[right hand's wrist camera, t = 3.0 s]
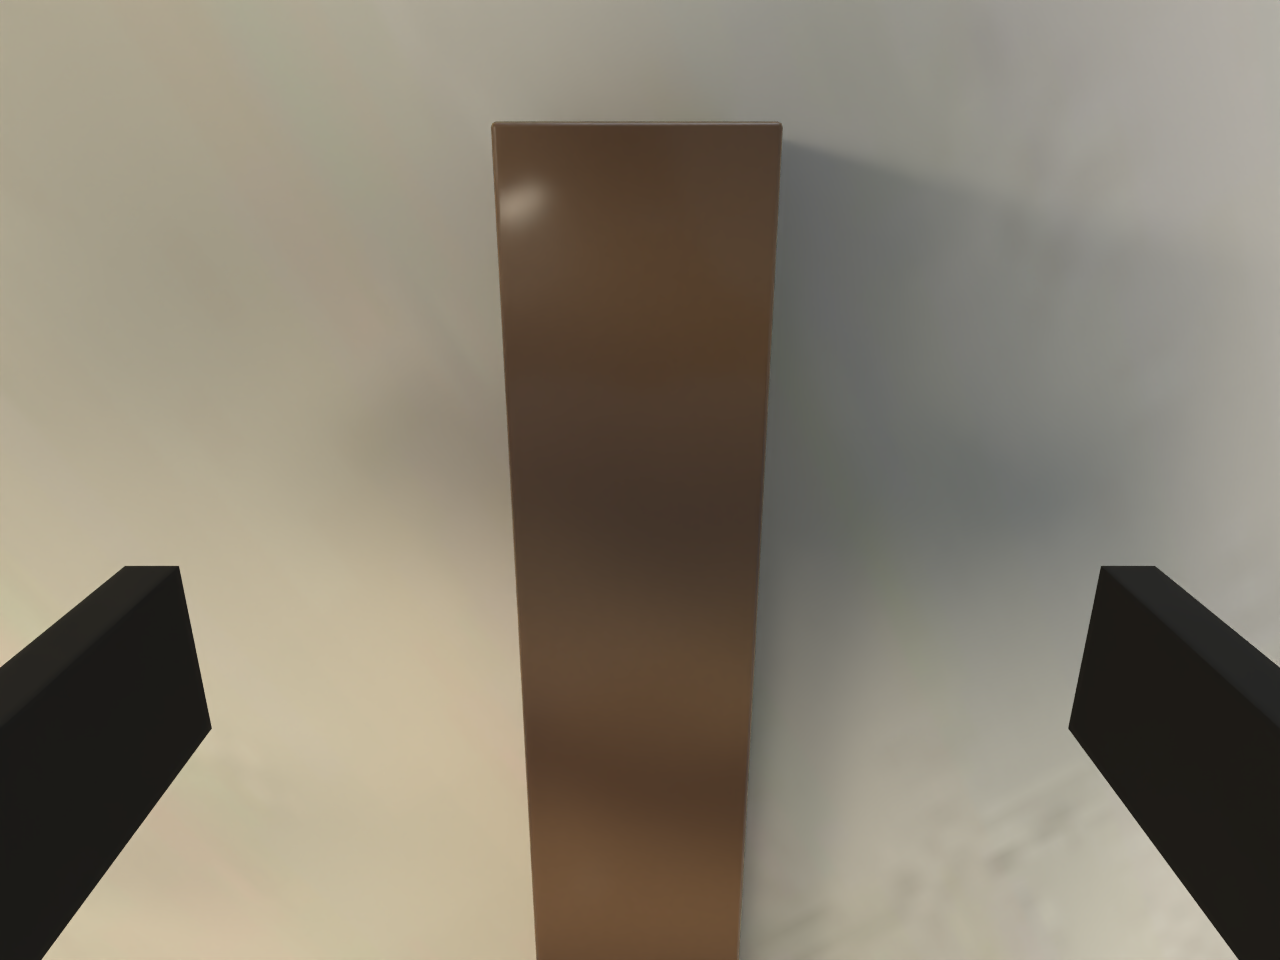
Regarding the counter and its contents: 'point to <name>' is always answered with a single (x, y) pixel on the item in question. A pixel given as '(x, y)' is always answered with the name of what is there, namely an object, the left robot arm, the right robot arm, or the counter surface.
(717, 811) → the bar
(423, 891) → the counter surface
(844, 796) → the counter surface
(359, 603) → the counter surface
